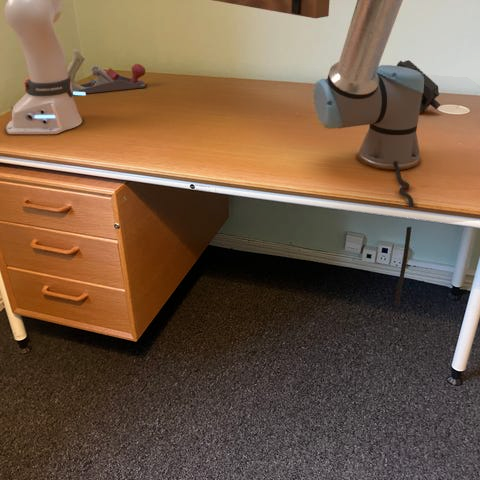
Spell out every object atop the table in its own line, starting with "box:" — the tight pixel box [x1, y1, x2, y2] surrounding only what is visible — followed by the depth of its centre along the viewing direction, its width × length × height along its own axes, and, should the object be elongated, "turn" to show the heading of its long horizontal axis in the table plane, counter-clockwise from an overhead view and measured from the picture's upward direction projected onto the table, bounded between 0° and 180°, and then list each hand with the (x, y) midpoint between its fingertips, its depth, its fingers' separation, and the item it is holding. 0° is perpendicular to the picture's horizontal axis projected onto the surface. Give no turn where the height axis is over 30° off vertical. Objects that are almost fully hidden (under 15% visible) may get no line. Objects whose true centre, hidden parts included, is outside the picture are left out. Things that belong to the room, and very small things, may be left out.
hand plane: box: [67, 48, 146, 94], centre depth 194 cm, size 7×31×15 cm, turn 107°
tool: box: [396, 59, 442, 114], centre depth 170 cm, size 6×19×15 cm, turn 51°
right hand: (303, 12), depth 144 cm, fingers closed on bar, 5 cm apart
